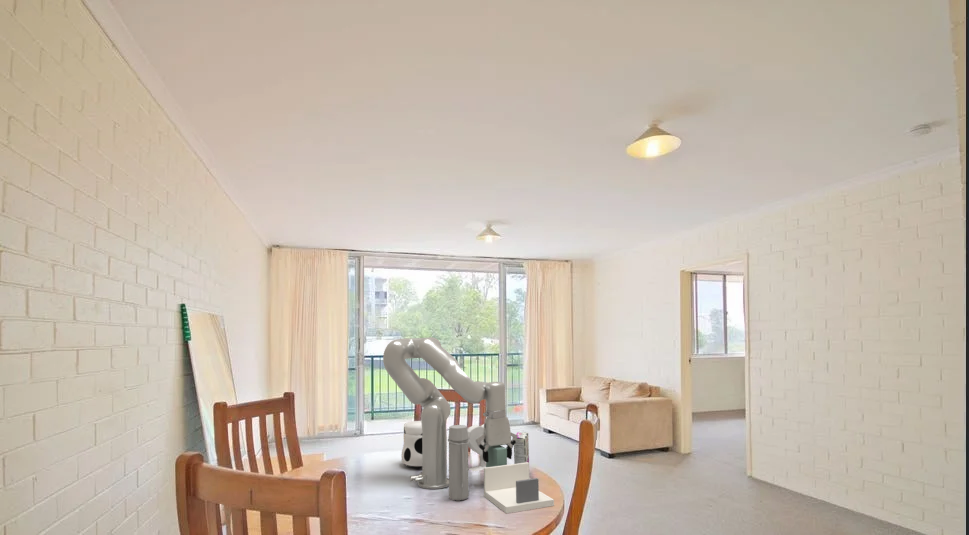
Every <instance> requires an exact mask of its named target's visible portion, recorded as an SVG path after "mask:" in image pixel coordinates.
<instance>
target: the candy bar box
mask: <svg viewBox="0 0 969 535" xmlns="http://www.w3.org/2000/svg"><path fill="white" fill-rule="evenodd" d="M515 435H517V436H518V437H517V440H516V443H515V444H514V445H513V455H514V456H513V457H514V461H513V462H514V463H513V464H518V463H526V462H528V463H529V464H530V448H529V447H530V446H529V432H526V431H525V432H524V431H518V432H516V434H515Z"/></svg>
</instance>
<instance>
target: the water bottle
mask: <svg viewBox="0 0 969 535" xmlns="http://www.w3.org/2000/svg"><path fill="white" fill-rule="evenodd" d="M467 429H468V426H467V425H466V424H456V425H455V424H454V425H450V426H449V428H448V437H447V438H448V439H447V443H448V479H449V486H448V497H449V499H450V500H452V501H455V500H456V501H458V502H459V501H460V500H462V501H466V500H467V499H468V498H469V486H470V485H469V470H468V469H469V447H468V443H469V442H470V440H469V439H468V431H467ZM468 440H469V442H468Z"/></svg>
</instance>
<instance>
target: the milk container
mask: <svg viewBox="0 0 969 535" xmlns="http://www.w3.org/2000/svg"><path fill="white" fill-rule="evenodd" d="M401 462H402V464H403V466H406V467H408V468H413V469H422V423H421V420H413V421H408V422H406V423H404V425H403V445H402V450H401Z"/></svg>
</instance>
